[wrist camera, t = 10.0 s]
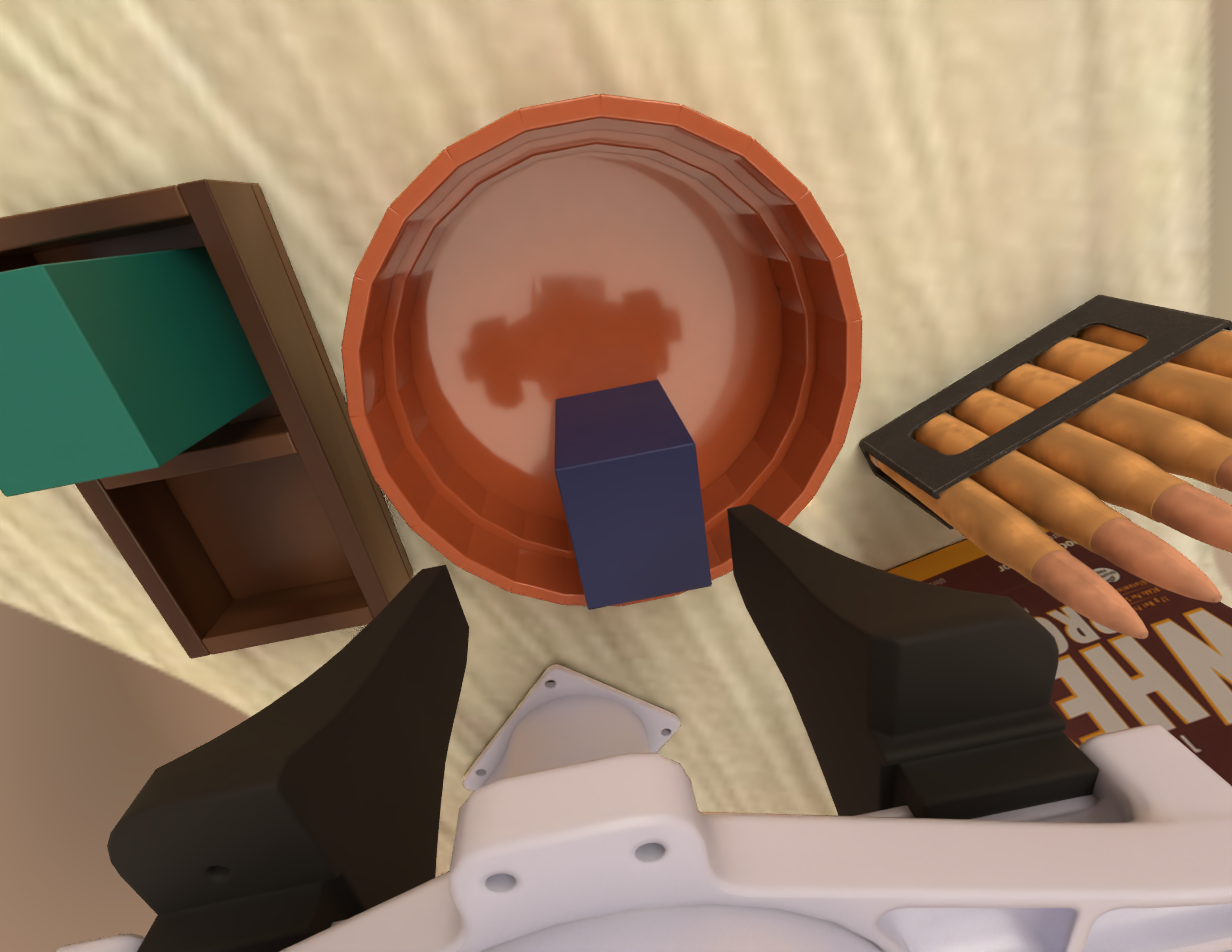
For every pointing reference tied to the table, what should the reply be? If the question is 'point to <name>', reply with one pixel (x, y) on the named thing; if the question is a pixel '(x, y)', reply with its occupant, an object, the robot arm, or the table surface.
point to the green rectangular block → (116, 366)
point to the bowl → (596, 326)
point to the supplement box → (1118, 651)
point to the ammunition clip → (1081, 452)
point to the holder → (238, 441)
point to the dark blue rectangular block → (630, 494)
